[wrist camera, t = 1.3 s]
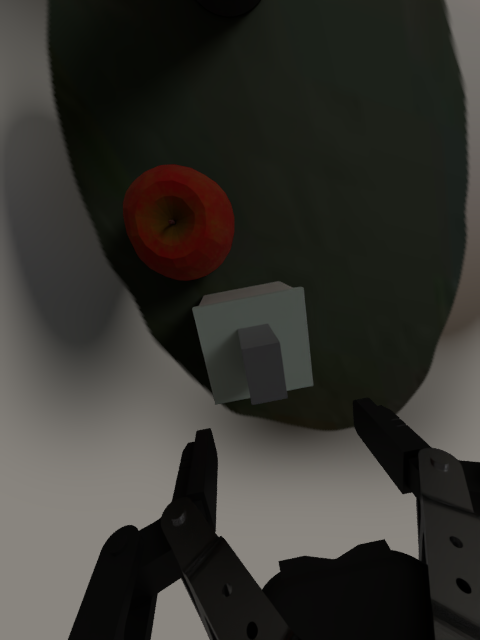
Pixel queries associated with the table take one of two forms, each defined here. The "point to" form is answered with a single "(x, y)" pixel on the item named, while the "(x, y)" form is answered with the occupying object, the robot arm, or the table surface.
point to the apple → (178, 221)
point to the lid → (256, 346)
